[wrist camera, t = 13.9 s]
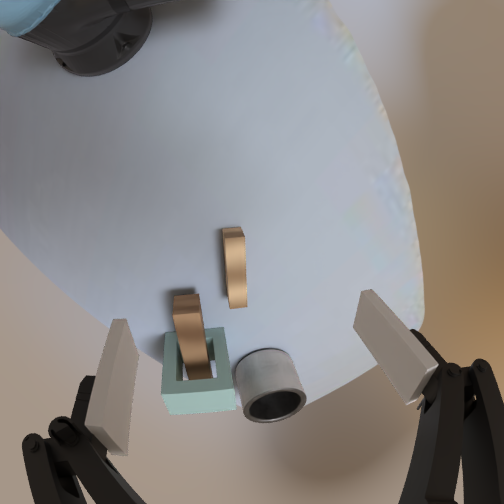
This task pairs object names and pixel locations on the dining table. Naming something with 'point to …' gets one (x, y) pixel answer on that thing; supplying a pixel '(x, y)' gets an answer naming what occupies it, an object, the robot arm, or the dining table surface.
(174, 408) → the green rectangular frame
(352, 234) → the dining table surface
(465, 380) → the robot arm
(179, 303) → the brown wooden long bar
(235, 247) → the rail
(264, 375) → the planter
